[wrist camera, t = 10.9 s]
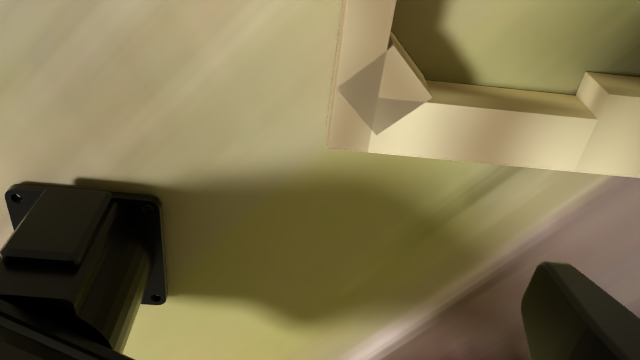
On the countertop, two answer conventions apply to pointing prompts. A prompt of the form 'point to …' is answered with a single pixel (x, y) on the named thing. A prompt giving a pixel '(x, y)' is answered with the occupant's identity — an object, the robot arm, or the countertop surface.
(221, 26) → the countertop surface
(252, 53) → the countertop surface
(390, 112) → the wooden frame
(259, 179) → the countertop surface
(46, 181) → the countertop surface
